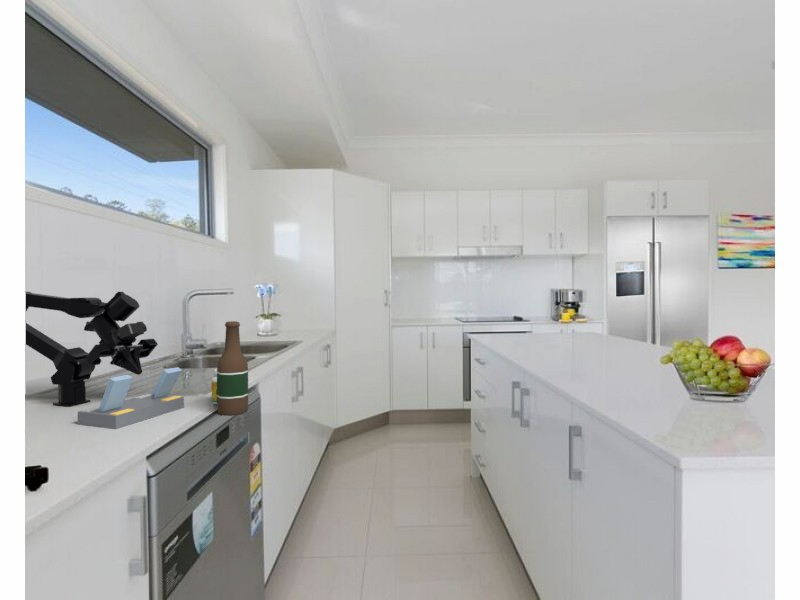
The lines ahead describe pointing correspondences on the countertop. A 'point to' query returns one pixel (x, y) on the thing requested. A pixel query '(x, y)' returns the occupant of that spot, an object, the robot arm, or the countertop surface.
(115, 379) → the upright blue panel
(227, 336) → the beer bottle
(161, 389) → the panel
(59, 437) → the countertop surface
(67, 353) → the robot arm
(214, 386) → the supplement bottle
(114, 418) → the switch panel
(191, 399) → the countertop surface
